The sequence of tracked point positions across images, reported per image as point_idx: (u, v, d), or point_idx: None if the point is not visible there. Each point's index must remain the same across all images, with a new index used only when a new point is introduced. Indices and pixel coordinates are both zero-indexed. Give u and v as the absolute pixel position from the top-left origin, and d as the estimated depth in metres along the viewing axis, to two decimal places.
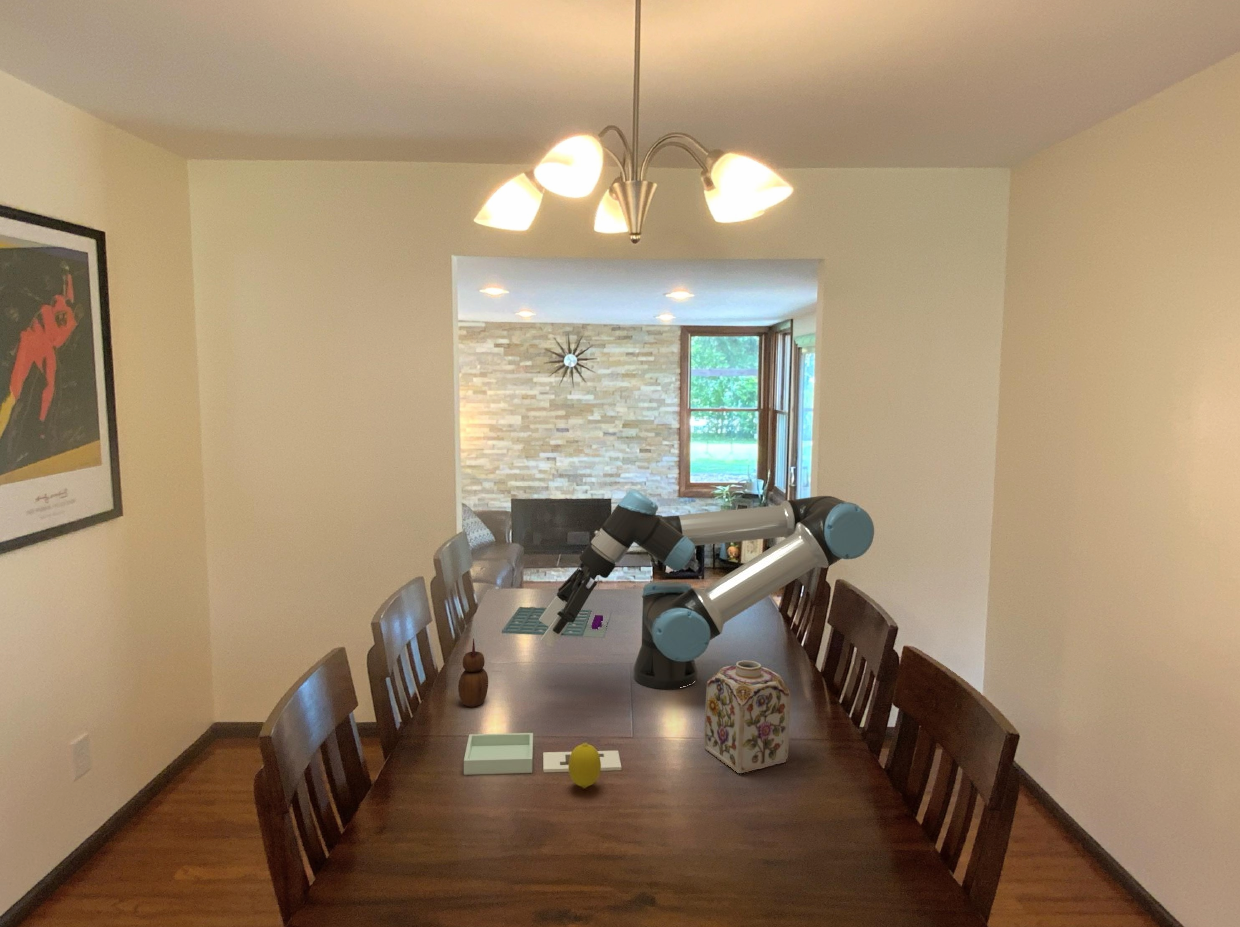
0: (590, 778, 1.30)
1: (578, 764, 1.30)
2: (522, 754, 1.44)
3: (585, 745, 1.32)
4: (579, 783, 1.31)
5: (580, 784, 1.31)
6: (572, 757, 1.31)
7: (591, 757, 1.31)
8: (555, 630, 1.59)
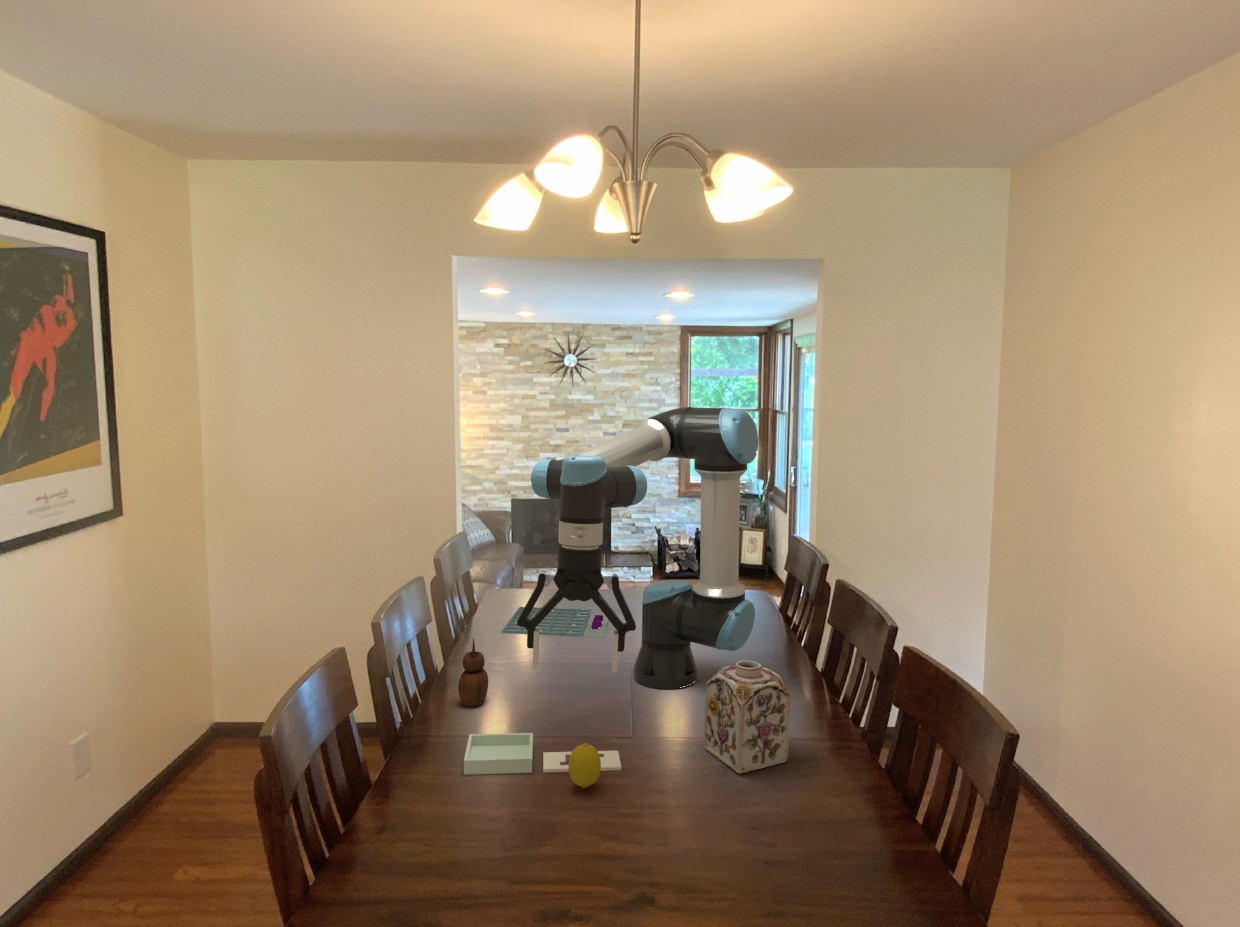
0: (590, 778, 1.30)
1: (578, 764, 1.30)
2: (522, 754, 1.44)
3: (585, 745, 1.32)
4: (579, 783, 1.31)
5: (580, 784, 1.31)
6: (572, 757, 1.31)
7: (591, 757, 1.31)
8: None
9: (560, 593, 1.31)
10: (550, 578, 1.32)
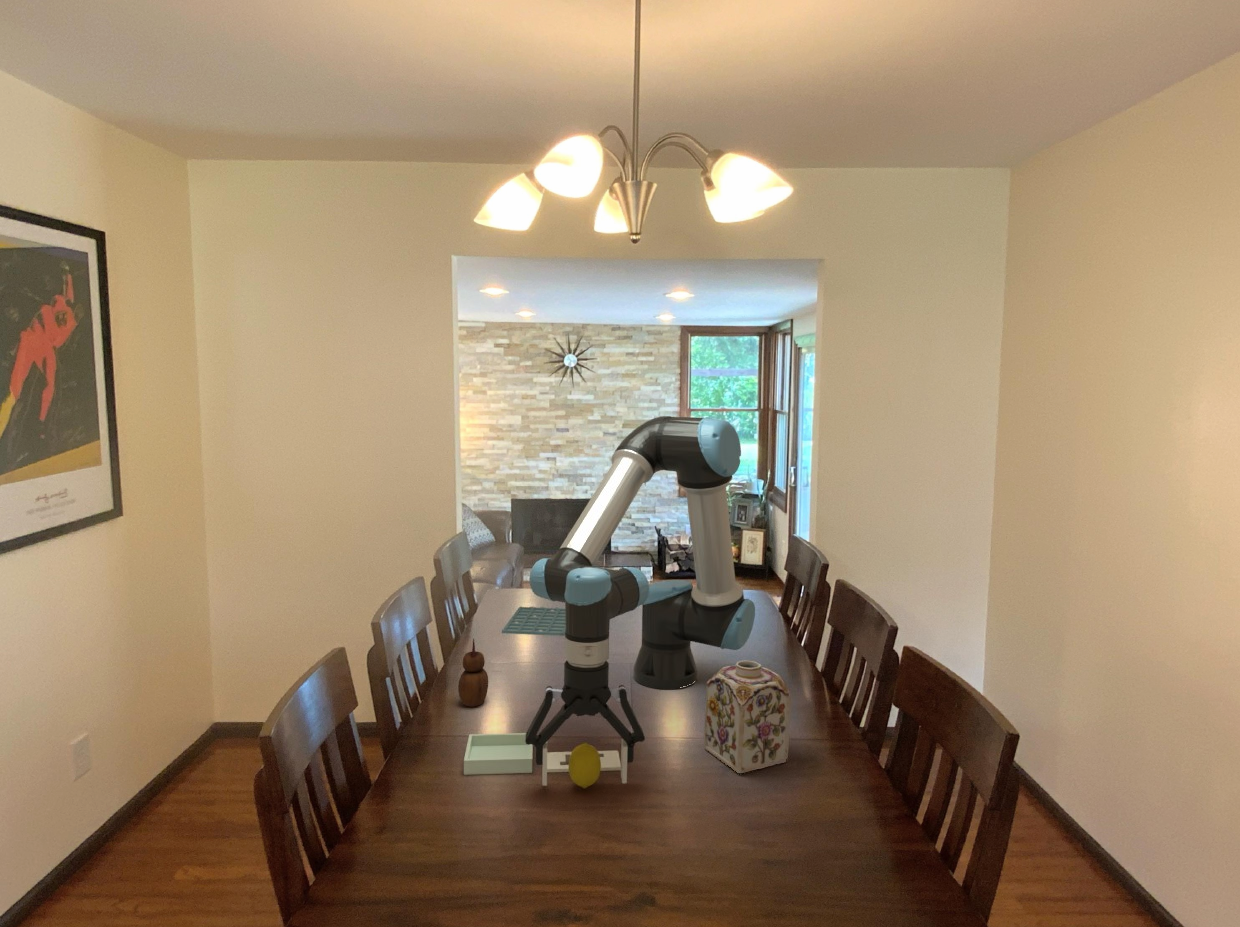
0: (590, 778, 1.30)
1: (578, 764, 1.30)
2: (522, 754, 1.44)
3: (585, 745, 1.32)
4: (579, 783, 1.31)
5: (580, 784, 1.31)
6: (572, 757, 1.31)
7: (591, 757, 1.31)
8: None
9: (568, 710, 1.30)
10: (557, 694, 1.31)
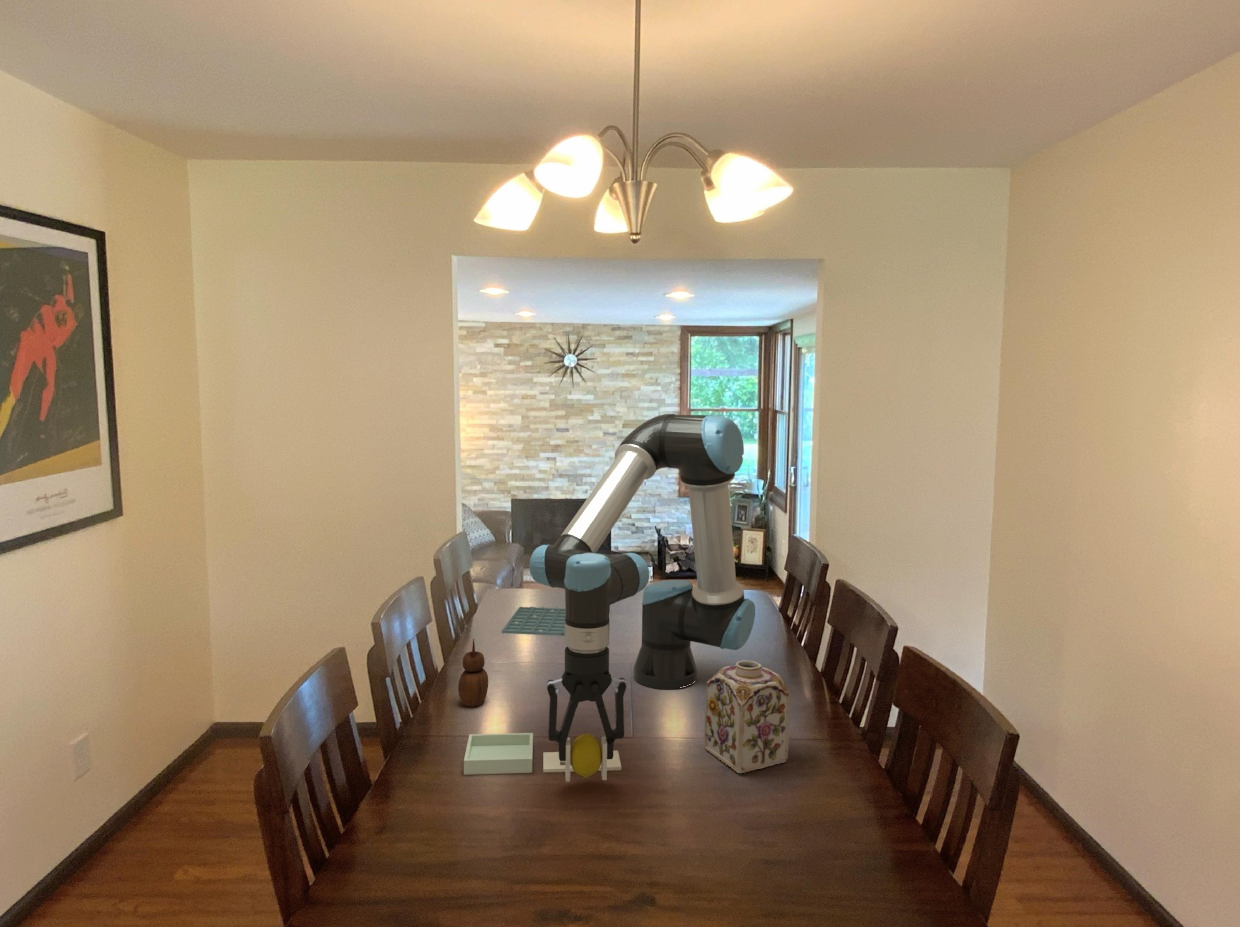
0: (591, 768, 1.31)
1: (579, 754, 1.31)
2: (522, 754, 1.44)
3: (586, 735, 1.32)
4: (580, 773, 1.31)
5: (581, 774, 1.31)
6: (573, 747, 1.32)
7: (593, 747, 1.31)
8: None
9: (574, 699, 1.30)
10: (559, 684, 1.31)
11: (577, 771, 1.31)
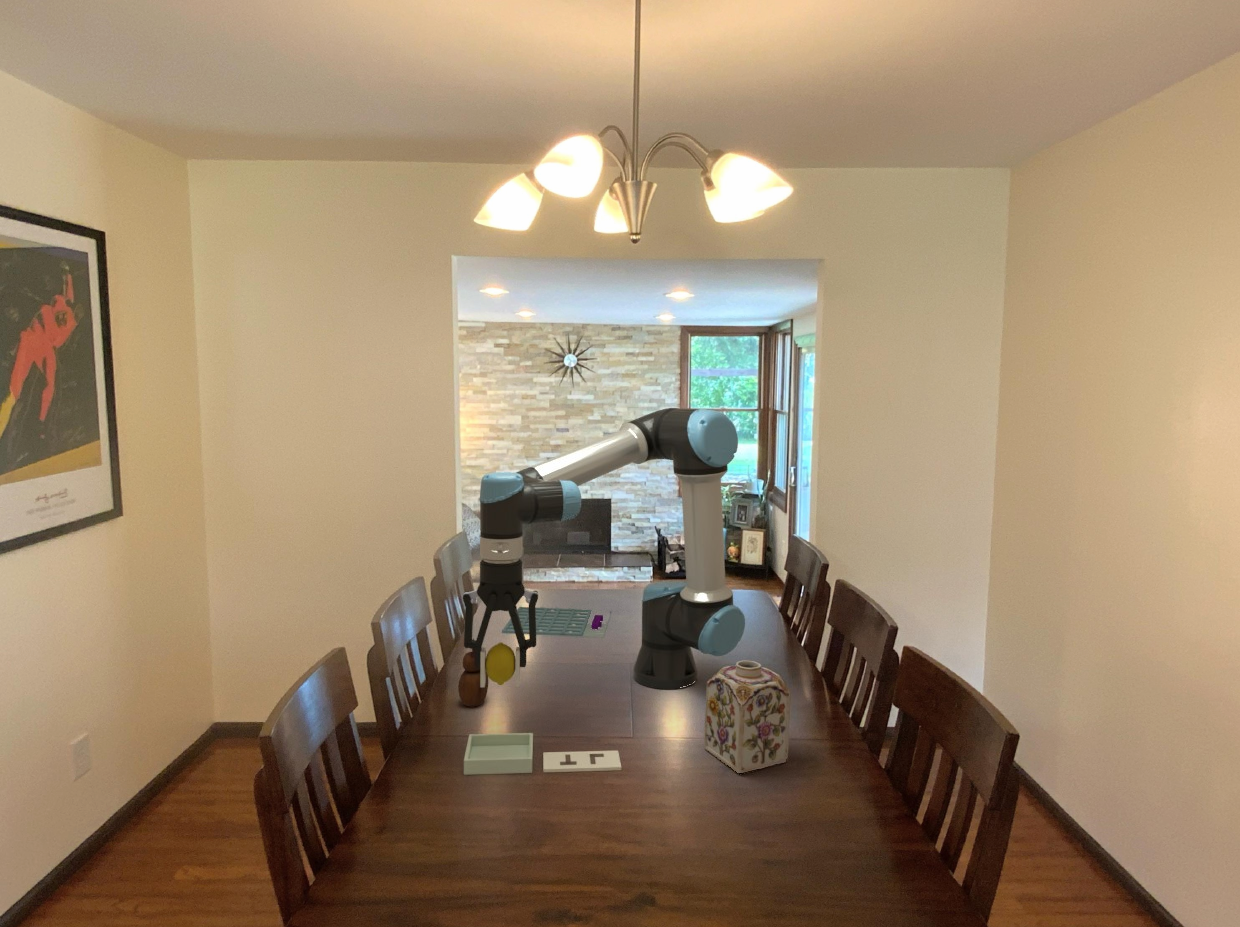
0: (504, 674, 1.39)
1: (493, 661, 1.38)
2: (522, 754, 1.44)
3: (500, 644, 1.40)
4: (494, 679, 1.39)
5: (495, 680, 1.39)
6: (488, 655, 1.40)
7: (506, 654, 1.39)
8: None
9: (488, 608, 1.38)
10: (474, 594, 1.39)
11: (491, 677, 1.39)
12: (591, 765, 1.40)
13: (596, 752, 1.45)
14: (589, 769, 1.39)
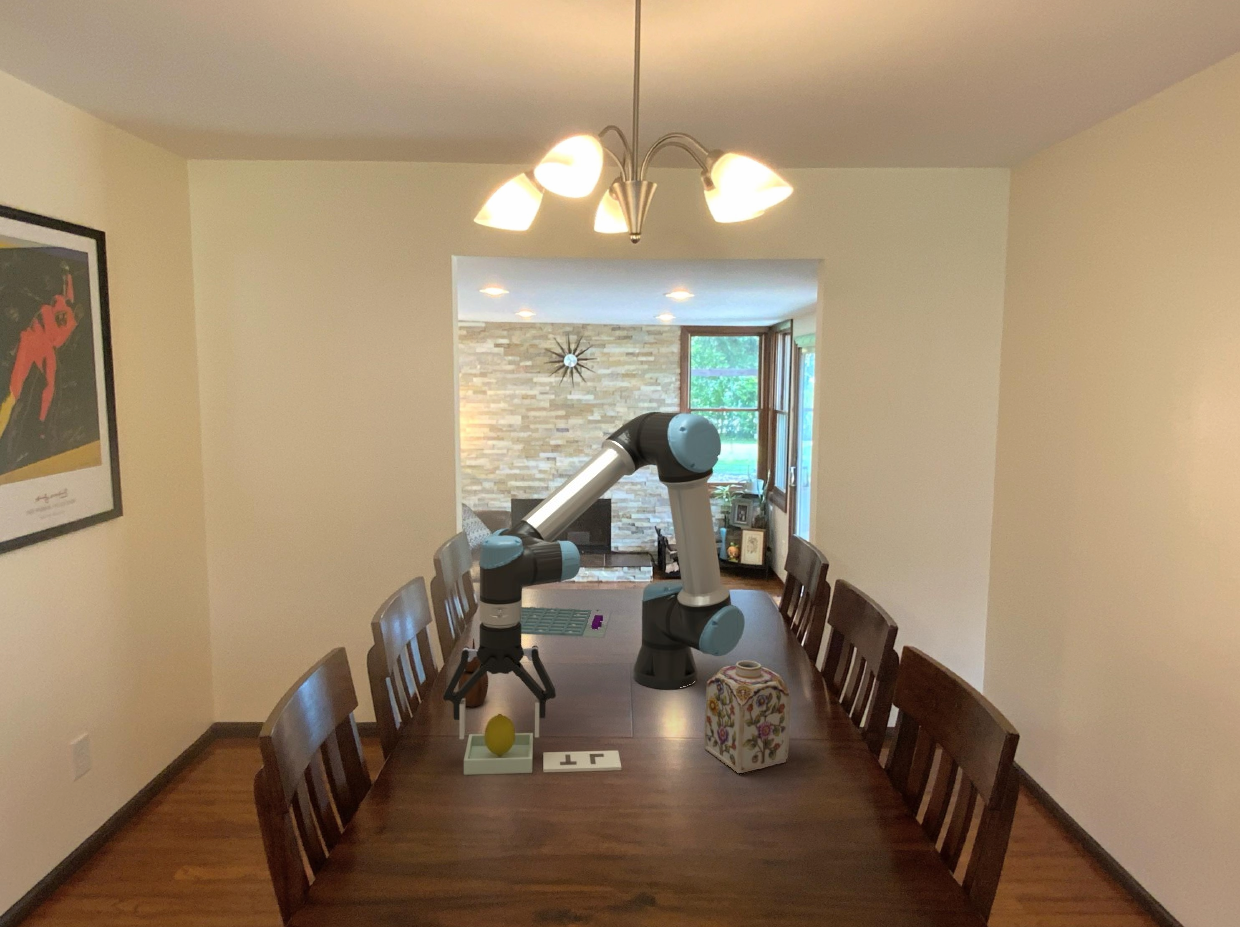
0: (503, 746, 1.40)
1: (492, 733, 1.40)
2: (522, 754, 1.44)
3: (499, 716, 1.42)
4: (493, 751, 1.40)
5: (495, 752, 1.41)
6: (487, 727, 1.41)
7: (505, 726, 1.40)
8: None
9: (483, 668, 1.39)
10: (473, 654, 1.40)
11: (490, 749, 1.40)
12: (591, 765, 1.40)
13: (596, 752, 1.45)
14: (589, 769, 1.39)
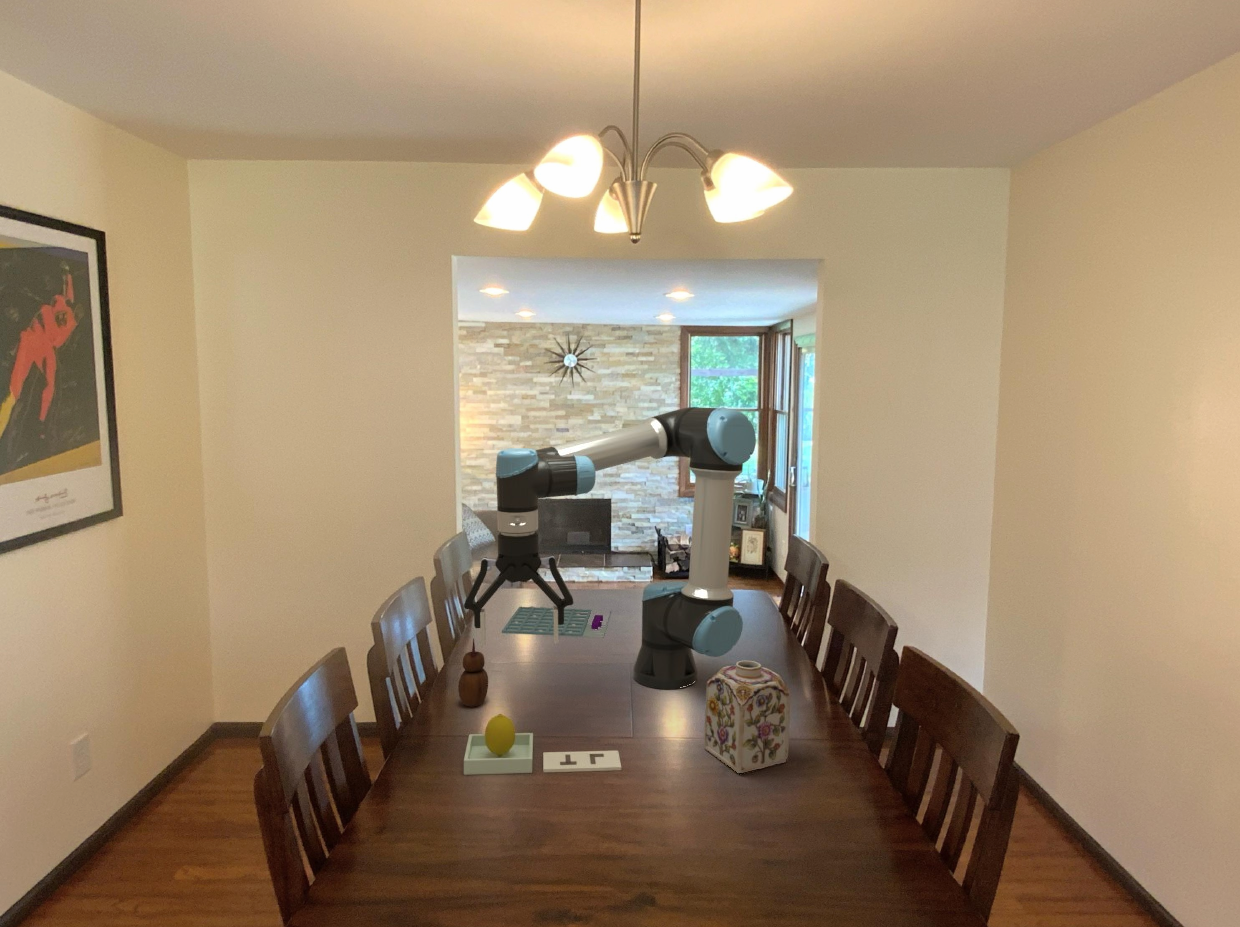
0: (503, 746, 1.40)
1: (492, 733, 1.40)
2: (522, 754, 1.44)
3: (500, 716, 1.42)
4: (494, 751, 1.40)
5: (495, 752, 1.40)
6: (488, 727, 1.41)
7: (505, 727, 1.40)
8: None
9: (502, 576, 1.43)
10: (492, 563, 1.43)
11: (491, 749, 1.40)
12: (591, 765, 1.40)
13: (596, 752, 1.45)
14: (589, 769, 1.39)
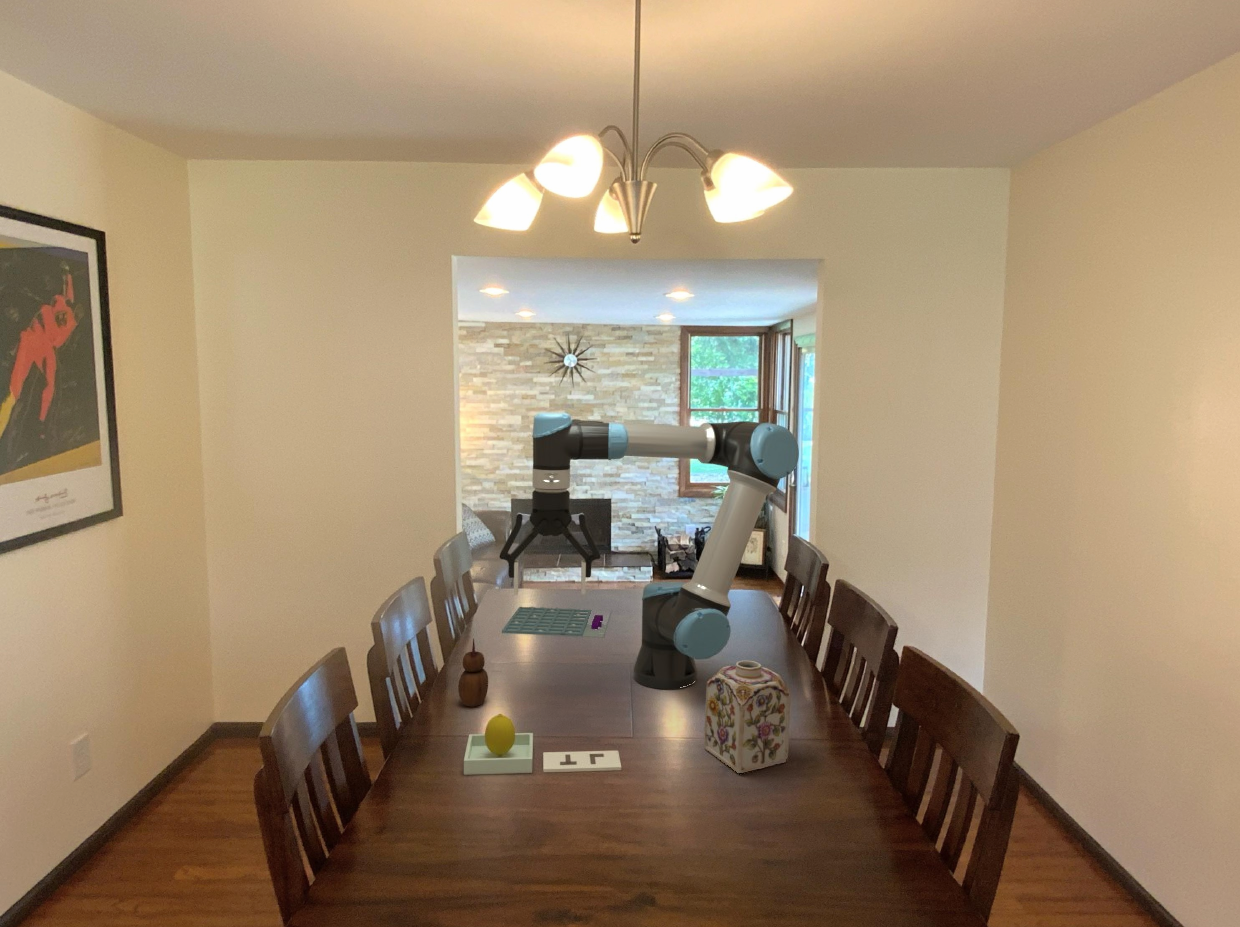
0: (503, 746, 1.40)
1: (492, 733, 1.40)
2: (522, 754, 1.44)
3: (500, 716, 1.42)
4: (494, 751, 1.40)
5: (495, 752, 1.40)
6: (487, 727, 1.41)
7: (505, 727, 1.40)
8: None
9: (535, 530, 1.54)
10: (526, 517, 1.55)
11: (491, 749, 1.40)
12: (591, 765, 1.40)
13: (596, 752, 1.45)
14: (589, 769, 1.39)
